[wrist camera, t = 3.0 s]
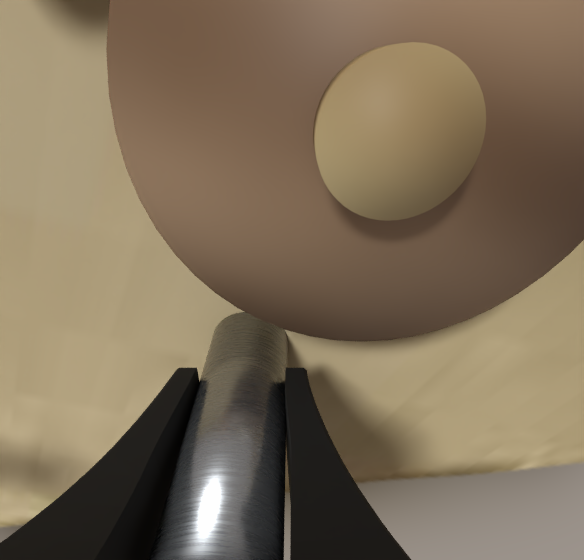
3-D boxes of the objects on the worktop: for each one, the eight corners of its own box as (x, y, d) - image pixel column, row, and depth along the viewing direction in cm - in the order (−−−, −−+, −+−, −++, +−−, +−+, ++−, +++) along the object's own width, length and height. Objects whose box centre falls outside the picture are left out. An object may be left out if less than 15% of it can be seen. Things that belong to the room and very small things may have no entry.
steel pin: (297, 360, 15) (300, 606, 8) (230, 375, 16) (181, 621, 9) (273, 303, 14) (254, 546, 7) (200, 322, 14) (115, 567, 7)
